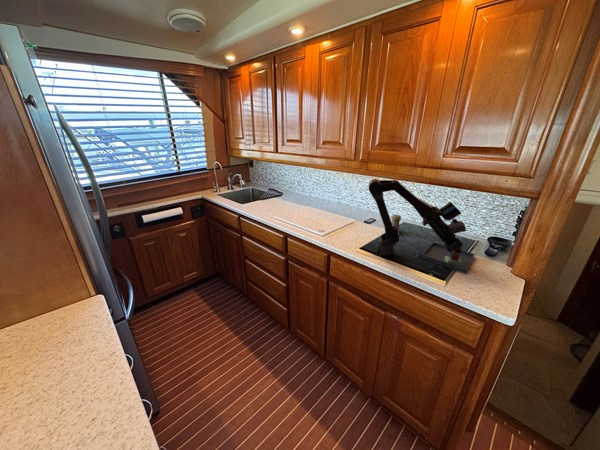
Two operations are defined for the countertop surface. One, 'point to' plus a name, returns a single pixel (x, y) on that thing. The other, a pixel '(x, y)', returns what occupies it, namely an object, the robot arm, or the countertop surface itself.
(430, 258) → the tray
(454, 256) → the brown green handled brush
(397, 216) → the cork
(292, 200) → the countertop surface
